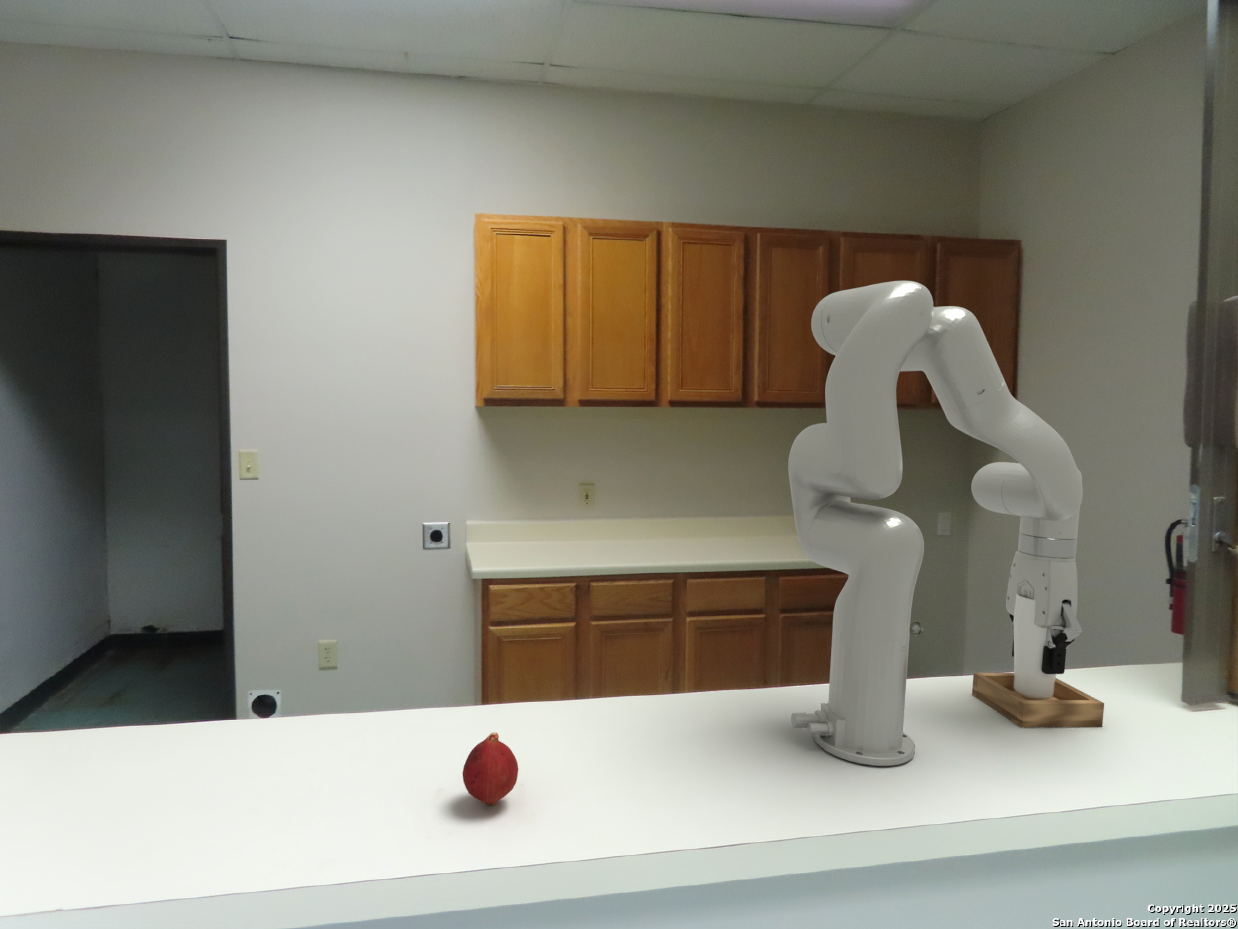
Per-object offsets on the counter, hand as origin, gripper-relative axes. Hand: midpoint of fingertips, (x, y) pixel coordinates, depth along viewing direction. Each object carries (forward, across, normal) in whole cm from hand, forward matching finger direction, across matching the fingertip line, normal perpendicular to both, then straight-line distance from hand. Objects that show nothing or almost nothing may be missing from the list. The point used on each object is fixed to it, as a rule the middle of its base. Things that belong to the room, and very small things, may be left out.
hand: (1037, 664), depth 113 cm
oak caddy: (+7, 0, 0) cm, 7 cm away
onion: (+7, +24, -80) cm, 84 cm away
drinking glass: (+5, 0, 0) cm, 5 cm away
